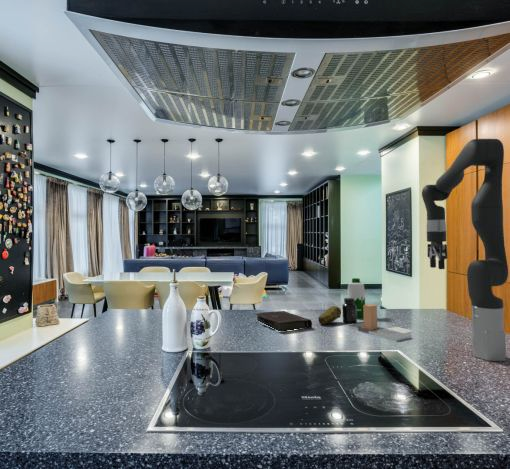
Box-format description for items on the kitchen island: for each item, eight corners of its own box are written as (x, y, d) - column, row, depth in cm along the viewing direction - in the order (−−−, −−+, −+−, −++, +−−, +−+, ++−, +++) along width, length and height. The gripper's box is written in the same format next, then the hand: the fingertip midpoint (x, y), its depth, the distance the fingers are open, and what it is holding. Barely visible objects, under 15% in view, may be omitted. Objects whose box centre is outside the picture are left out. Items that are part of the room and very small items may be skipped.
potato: (313, 322, 177) (313, 306, 177) (337, 320, 180) (337, 304, 180) (320, 326, 169) (320, 309, 169) (345, 324, 172) (345, 307, 172)
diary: (285, 319, 188) (285, 310, 188) (312, 329, 165) (312, 318, 165) (253, 322, 180) (253, 312, 180) (277, 334, 157) (277, 322, 157)
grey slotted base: (411, 340, 143) (411, 334, 143) (396, 343, 139) (396, 338, 139) (362, 327, 166) (362, 322, 166) (348, 329, 161) (348, 325, 161)
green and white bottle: (365, 315, 191) (364, 278, 192) (365, 319, 182) (364, 280, 183) (348, 314, 194) (347, 278, 194) (347, 318, 185) (346, 279, 185)
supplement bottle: (355, 321, 178) (355, 297, 178) (358, 324, 171) (357, 299, 171) (341, 321, 178) (341, 297, 179) (343, 324, 172) (343, 299, 172)
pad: (414, 332, 154) (414, 330, 154) (400, 335, 150) (400, 333, 150) (396, 328, 162) (396, 326, 162) (383, 331, 158) (383, 329, 158)
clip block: (377, 332, 155) (376, 305, 155) (371, 334, 153) (370, 306, 153) (370, 331, 158) (369, 304, 159) (363, 332, 156) (363, 305, 157)
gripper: (421, 231, 160) (421, 267, 160) (434, 230, 146) (435, 269, 146) (438, 231, 159) (439, 267, 159) (453, 230, 145) (454, 269, 145)
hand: (437, 268), depth 152 cm, fingers open, 8 cm apart
